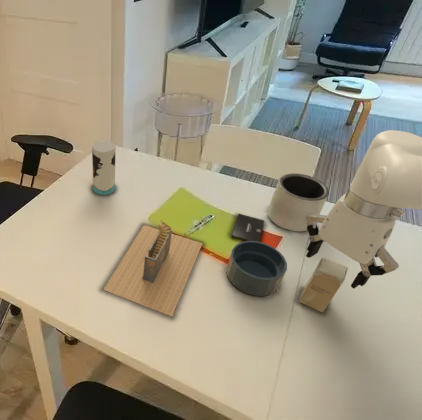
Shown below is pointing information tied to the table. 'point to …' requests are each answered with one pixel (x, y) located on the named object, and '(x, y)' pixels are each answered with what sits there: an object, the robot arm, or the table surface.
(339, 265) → the box
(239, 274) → the round storage tub
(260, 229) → the solid state drive
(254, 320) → the table surface
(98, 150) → the white patterned canister
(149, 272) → the architectural model on board
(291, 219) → the planter
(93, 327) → the table surface
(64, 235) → the table surface
